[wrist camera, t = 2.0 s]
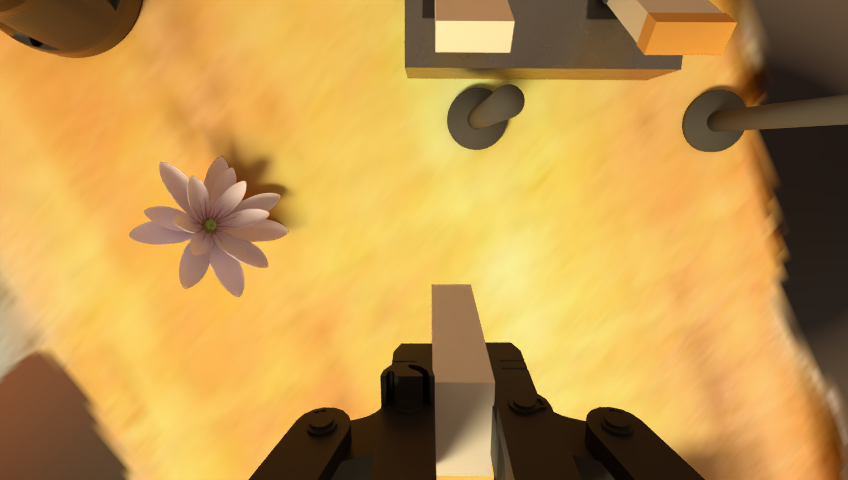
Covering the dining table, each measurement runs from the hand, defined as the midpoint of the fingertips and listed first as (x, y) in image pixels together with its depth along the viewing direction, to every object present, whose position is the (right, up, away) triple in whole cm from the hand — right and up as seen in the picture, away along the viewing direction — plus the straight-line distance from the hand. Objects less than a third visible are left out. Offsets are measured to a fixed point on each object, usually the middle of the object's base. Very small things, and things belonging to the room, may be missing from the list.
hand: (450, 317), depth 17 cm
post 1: (+4, +15, +28) cm, 32 cm away
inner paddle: (+2, +24, +19) cm, 31 cm away
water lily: (-21, +6, +30) cm, 37 cm away
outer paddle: (+16, +24, +19) cm, 35 cm away
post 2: (+28, +15, +28) cm, 42 cm away
